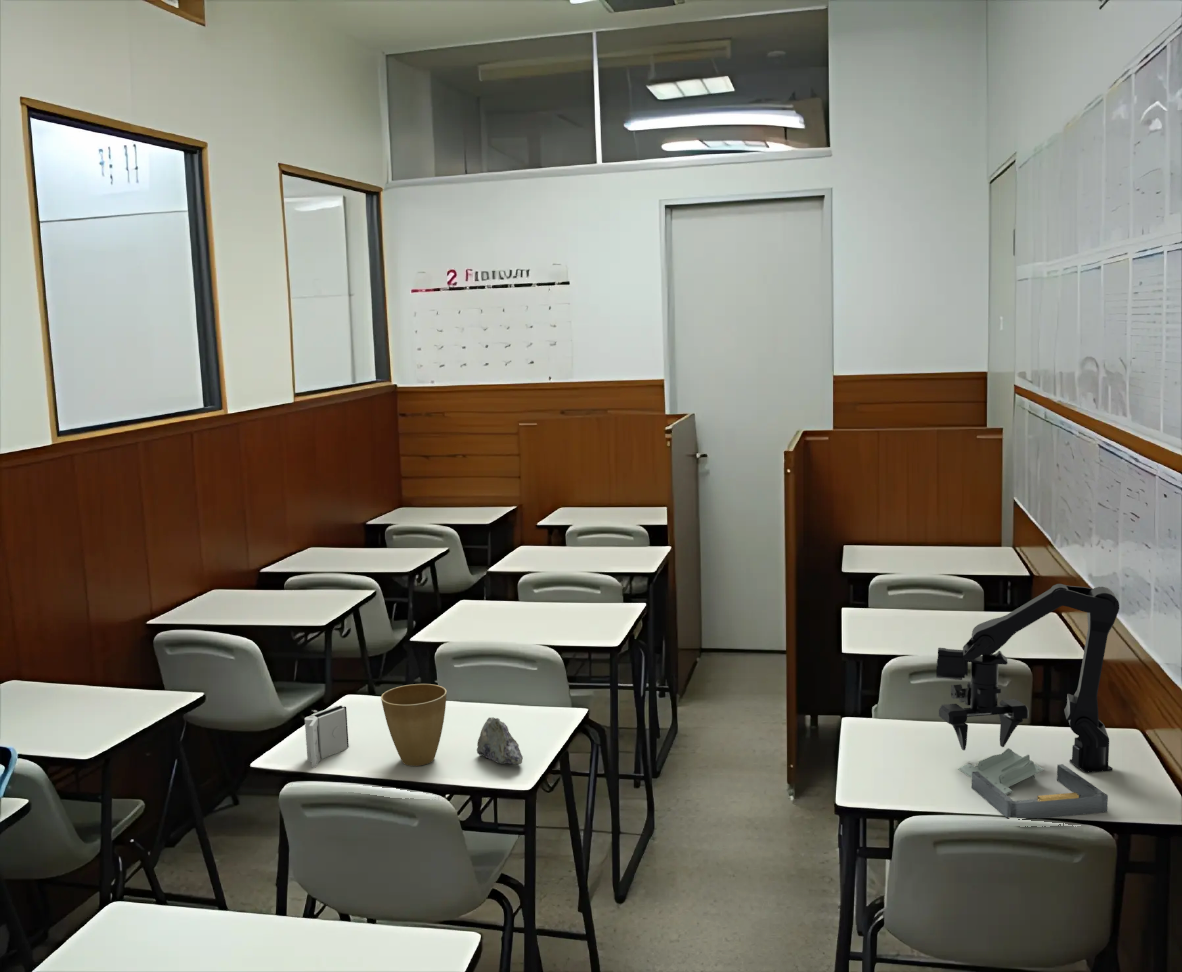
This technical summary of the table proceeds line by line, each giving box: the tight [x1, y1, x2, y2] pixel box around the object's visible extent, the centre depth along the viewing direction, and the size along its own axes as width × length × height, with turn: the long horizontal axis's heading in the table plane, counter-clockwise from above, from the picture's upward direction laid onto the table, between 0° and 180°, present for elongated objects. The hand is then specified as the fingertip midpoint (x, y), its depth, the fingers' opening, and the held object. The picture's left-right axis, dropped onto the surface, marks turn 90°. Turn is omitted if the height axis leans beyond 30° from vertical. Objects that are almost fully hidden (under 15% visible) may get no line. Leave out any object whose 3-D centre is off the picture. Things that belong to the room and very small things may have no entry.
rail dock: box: [971, 763, 1109, 819], centre depth 224 cm, size 20×16×4 cm
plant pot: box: [380, 683, 448, 767], centre depth 253 cm, size 15×15×16 cm
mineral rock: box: [476, 717, 524, 765], centre depth 251 cm, size 13×11×10 cm
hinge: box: [304, 705, 350, 768], centre depth 258 cm, size 13×8×10 cm, turn 0°
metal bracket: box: [958, 748, 1044, 796], centre depth 235 cm, size 14×6×15 cm
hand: (982, 748), depth 247 cm, fingers open, 9 cm apart
